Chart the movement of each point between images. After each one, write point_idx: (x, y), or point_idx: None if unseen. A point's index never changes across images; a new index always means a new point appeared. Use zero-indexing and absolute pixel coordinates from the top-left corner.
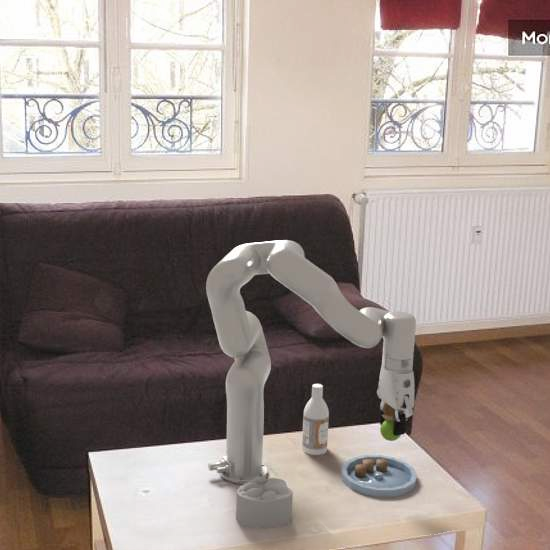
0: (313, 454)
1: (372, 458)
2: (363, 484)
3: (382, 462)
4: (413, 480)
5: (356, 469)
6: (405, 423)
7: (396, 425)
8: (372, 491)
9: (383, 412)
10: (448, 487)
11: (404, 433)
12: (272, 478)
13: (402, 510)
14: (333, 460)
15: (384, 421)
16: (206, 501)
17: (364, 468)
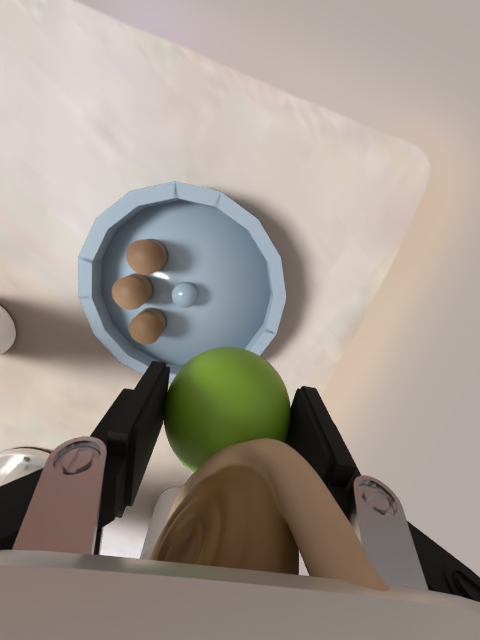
0: (6, 348)
1: (100, 250)
2: (193, 344)
3: (150, 262)
4: (272, 251)
5: (147, 342)
6: (339, 438)
7: None
8: None
9: (132, 501)
10: (317, 142)
11: (313, 389)
12: (145, 557)
13: (316, 334)
14: (43, 311)
15: (188, 467)
16: (107, 552)
17: (157, 329)
